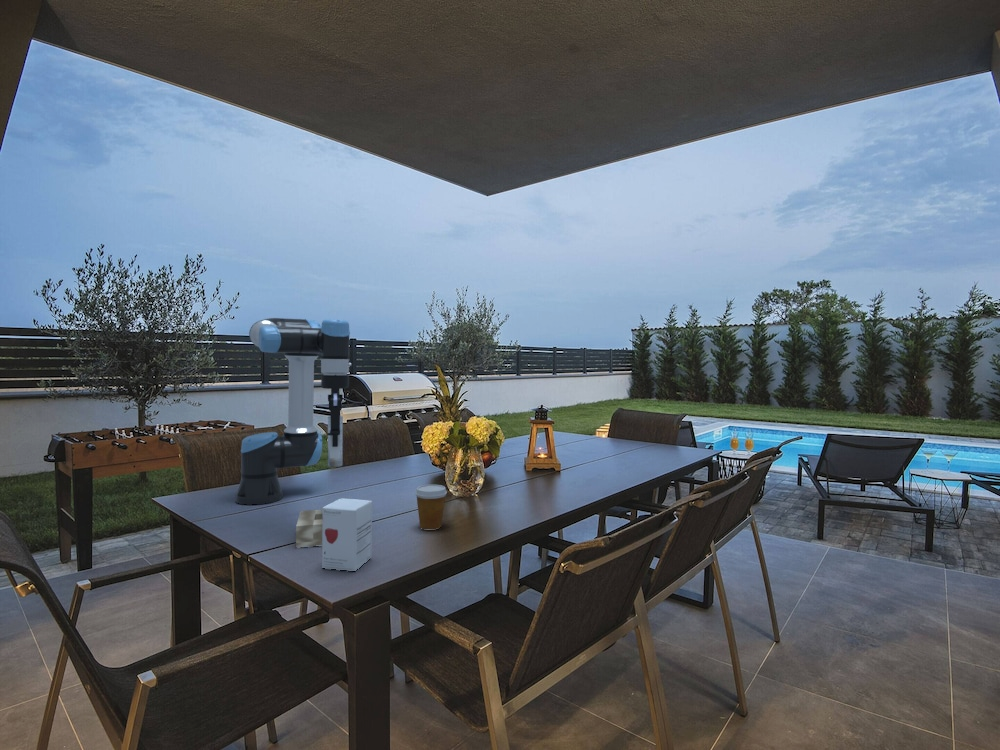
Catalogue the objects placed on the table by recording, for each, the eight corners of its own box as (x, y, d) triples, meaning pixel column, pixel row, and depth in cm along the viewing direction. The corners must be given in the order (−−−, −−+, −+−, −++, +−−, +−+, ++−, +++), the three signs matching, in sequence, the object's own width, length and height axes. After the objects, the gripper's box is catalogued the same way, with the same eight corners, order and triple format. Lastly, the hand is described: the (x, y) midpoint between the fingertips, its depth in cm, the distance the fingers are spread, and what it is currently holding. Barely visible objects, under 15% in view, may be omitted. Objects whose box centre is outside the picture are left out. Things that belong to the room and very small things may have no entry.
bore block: (295, 548, 134) (296, 526, 134) (300, 531, 148) (300, 511, 147) (351, 543, 138) (351, 521, 138) (350, 527, 152) (350, 507, 151)
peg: (327, 467, 142) (327, 417, 142) (327, 464, 146) (327, 415, 146) (342, 466, 143) (342, 417, 143) (342, 463, 147) (342, 415, 147)
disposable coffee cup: (432, 535, 146) (433, 493, 146) (408, 529, 151) (408, 488, 151) (453, 526, 154) (453, 487, 154) (428, 520, 159) (429, 482, 159)
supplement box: (320, 569, 121) (320, 507, 121) (339, 555, 130) (340, 497, 129) (355, 573, 119) (355, 509, 119) (372, 558, 128) (373, 499, 128)
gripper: (350, 375, 137) (349, 461, 138) (348, 373, 153) (347, 450, 154) (320, 375, 135) (320, 462, 135) (321, 373, 151) (321, 451, 151)
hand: (334, 456), depth 145 cm, fingers closed on peg, 4 cm apart
